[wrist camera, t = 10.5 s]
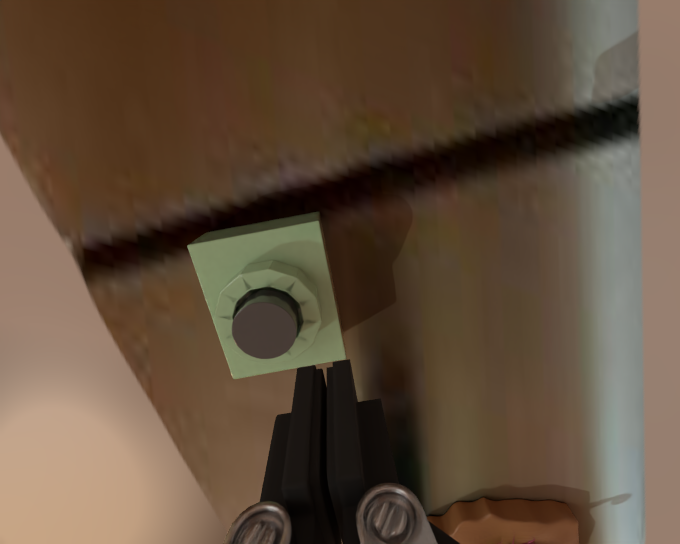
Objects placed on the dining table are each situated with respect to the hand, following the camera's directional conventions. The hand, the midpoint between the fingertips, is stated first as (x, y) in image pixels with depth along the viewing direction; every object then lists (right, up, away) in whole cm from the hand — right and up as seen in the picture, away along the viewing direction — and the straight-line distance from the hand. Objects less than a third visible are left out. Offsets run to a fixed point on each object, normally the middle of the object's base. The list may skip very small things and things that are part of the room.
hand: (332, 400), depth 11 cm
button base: (-5, +3, +17) cm, 18 cm away
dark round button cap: (-5, +1, +12) cm, 13 cm away
